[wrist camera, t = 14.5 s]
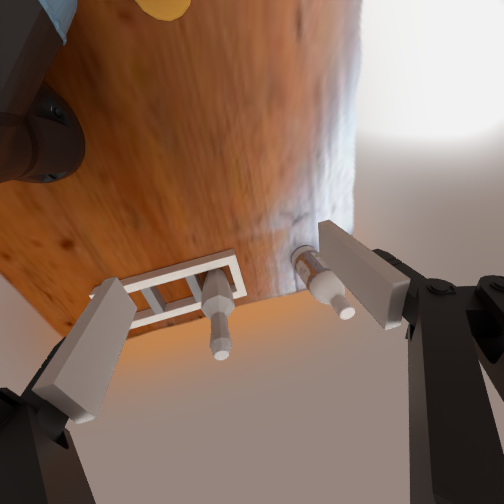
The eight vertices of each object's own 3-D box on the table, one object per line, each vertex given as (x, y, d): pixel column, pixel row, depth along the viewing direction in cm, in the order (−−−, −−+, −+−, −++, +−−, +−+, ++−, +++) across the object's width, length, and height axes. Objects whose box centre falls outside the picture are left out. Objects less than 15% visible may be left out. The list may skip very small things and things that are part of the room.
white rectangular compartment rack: (122, 323, 55) (118, 332, 53) (95, 287, 49) (88, 295, 47) (245, 287, 57) (247, 295, 54) (233, 248, 51) (235, 254, 48)
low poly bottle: (234, 275, 55) (249, 352, 36) (215, 290, 56) (221, 373, 37) (216, 260, 52) (222, 335, 33) (196, 276, 53) (192, 358, 34)
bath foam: (294, 244, 54) (336, 298, 36) (320, 245, 55) (372, 298, 38) (287, 268, 57) (324, 328, 40) (312, 268, 58) (357, 327, 41)
